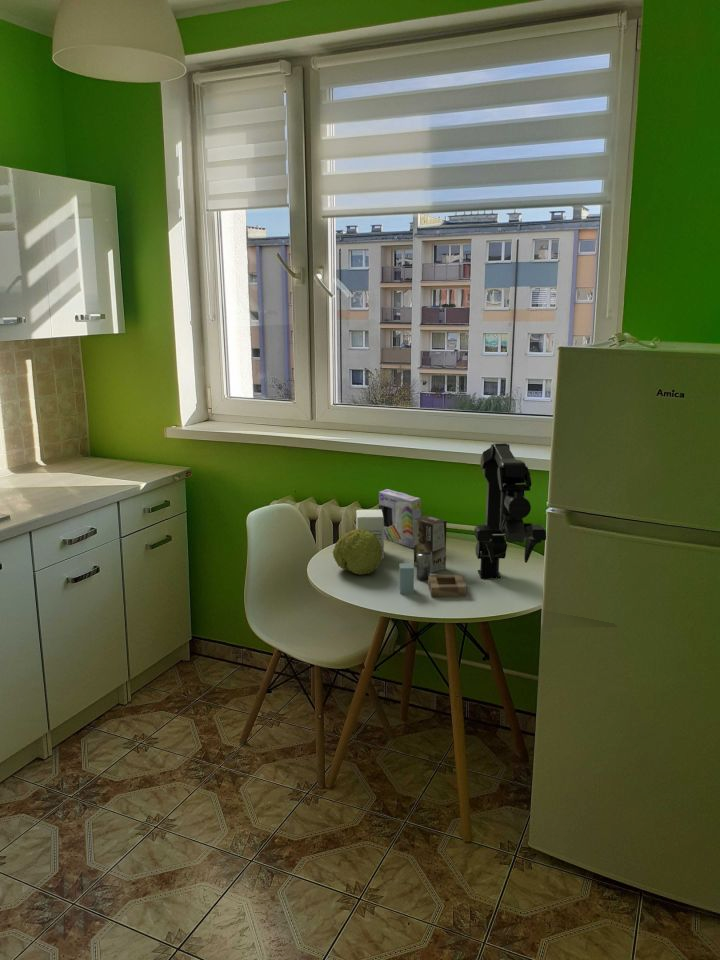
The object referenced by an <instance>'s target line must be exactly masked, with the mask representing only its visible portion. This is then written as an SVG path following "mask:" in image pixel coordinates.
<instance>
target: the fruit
mask: <svg viewBox="0 0 720 960" xmlns="http://www.w3.org/2000/svg"><path fill="white" fill-rule="evenodd" d="M332 555H333V558H334V561H335V562H336V564H337V566H338V567H339V568H341V569H342V570H344V571H346V572H352V573H353V574H355V575H359V576H360V575H369V574H371V573H372V572H374V571H375V570H376V569H377V568H378V567H379V565H381V562H382V560H383V559H382V546H381V544H380V541H379V539H378V538H377V537H376V536H375V535H374V534H373V533H371V532H369V531H367V530H364V529H356V528H355V529H353V530H351V531H348V532H346V533H344V534H342V536H341V537H340V538H339V539H338V540H337V541H336V543H335V545H334V547H333V550H332Z"/></svg>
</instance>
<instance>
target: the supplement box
mask: <svg viewBox="0 0 720 960" xmlns="http://www.w3.org/2000/svg"><path fill="white" fill-rule="evenodd" d="M355 515H356V516H355V517H356V519H355V522H356V523H355V524H356V525H355V526H356V527H355V530H356V529H364V530H367V531H369V532H371V533H373V534H374V535H375V536H376V537H377V538H378V539H379V541H380V544H381V546H382V559H381V560H384V558H385V557H384V556H385V549H384V548H385V547H384V546H385V544H384V543H385V540H384V539H385V538H384V517H383V513H382V510H381V509H380V510H378V509H357V510H356V514H355Z"/></svg>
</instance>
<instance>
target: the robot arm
mask: <svg viewBox="0 0 720 960" xmlns="http://www.w3.org/2000/svg"><path fill="white" fill-rule="evenodd" d="M480 469H481V471H482V475H483V476H484V477H485V479H486V504H485V525H482V524H481V525H479V524H478V525H475V527H474V536H475V538H476V541H477V542H476V544H475V556H476V557H477V560H480V569H477V573H478V575H479V578H480V579H483V580H484V579H502V575H501V573H500V559H502V560H503V559H505V558H506V557H507V556H506V555H507V549H508V543H511V544H512V543H524V542H525V547H524V563H528V561H529V559H530V556H531V554H532V552H533V550H534V548H535V547H536V545H538V544H541V543H542V541H547V540H546V531H547V530H546V528H545V527H544V526H543V525H542V524H532V522H524V518H526V517H528V515H529V514H530V512H531V510H532V506H531V502H530V501H529V499H527V497H526V496H525V492H531V487H532V478H531V472H530V470H529V467H528V466H527V465H526V463H525V462H524V461H523V460H521V459H516V458H515V456H514V455H513V453H512V451H511V448H510V444H508V443H502V442H501V443H493V444H491V445H490V447H489V448H487V449H486V450H484V451H483V452H482V454H481V456H480Z"/></svg>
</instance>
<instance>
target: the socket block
mask: <svg viewBox="0 0 720 960" xmlns="http://www.w3.org/2000/svg"><path fill="white" fill-rule="evenodd" d="M427 585H428V589H429V592H430V597H431V598H464V597H466V596H467V595H466V594H467V593H466V592H467V586H466V583H465V582H464V579H463V577H462V575H461V574H430V575H428V581H427Z"/></svg>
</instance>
